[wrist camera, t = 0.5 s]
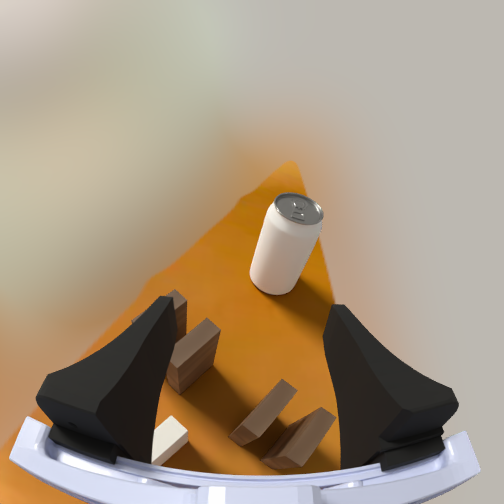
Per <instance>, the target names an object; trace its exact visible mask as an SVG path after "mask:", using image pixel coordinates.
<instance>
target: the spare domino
mask: <svg viewBox="0 0 504 504" xmlns="http://www.w3.org/2000/svg"><path fill="white" fill-rule="evenodd" d="M187 442H188V430H187V429H185V428H184V427H183V426H182V425H181V424H180V423H179V422H178V421H177V420H176V419H175V418H174V417H172V416H170V417H169V418H168V419H166V420H165V421H164V422H163V423H162V424H161V425H160V426H158V427H157V428H156V429H155V430H154V437H153V448H152V463H151V464H152V465H157V466H161V465H162V464H163V463H164V462H165V461H167V460H168V459H169V458H170V457H171V456H172V455H173V454H175V453H176V452H177V451H178V450H179V449H180V448H181V447H182V446H183V445H184V444H186V443H187Z"/></svg>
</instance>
